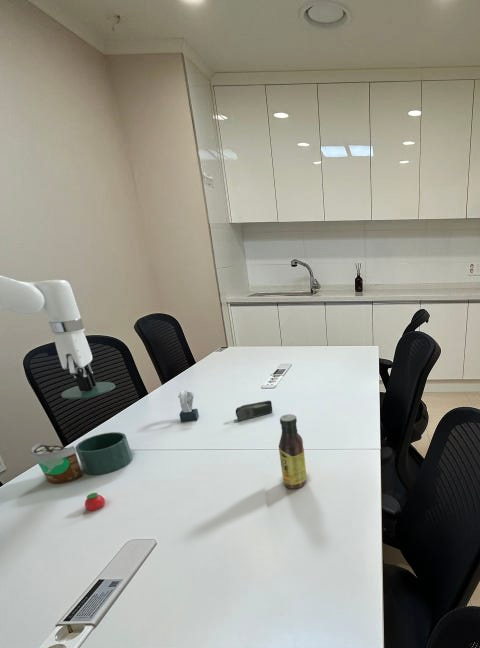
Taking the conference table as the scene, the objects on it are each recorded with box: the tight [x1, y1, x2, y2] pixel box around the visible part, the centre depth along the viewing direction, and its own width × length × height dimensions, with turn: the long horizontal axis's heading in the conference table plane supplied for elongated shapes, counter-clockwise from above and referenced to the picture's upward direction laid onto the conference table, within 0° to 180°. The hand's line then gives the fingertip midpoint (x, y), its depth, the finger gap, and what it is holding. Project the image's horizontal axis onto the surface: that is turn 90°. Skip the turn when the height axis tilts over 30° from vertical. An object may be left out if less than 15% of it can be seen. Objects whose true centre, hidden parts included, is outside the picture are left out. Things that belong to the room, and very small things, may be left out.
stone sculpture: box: [177, 390, 200, 423], centre depth 143 cm, size 6×8×11 cm
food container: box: [30, 441, 83, 485], centre depth 106 cm, size 12×6×10 cm, turn 76°
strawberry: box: [84, 492, 106, 512], centre depth 95 cm, size 4×4×4 cm
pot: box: [74, 431, 133, 476], centre depth 115 cm, size 12×12×8 cm
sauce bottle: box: [278, 413, 307, 489], centre depth 100 cm, size 7×6×20 cm
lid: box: [60, 374, 116, 400], centre depth 115 cm, size 13×13×6 cm
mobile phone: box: [233, 400, 273, 422], centre depth 145 cm, size 5×3×15 cm
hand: (88, 388), depth 116 cm, fingers closed on lid, 2 cm apart
